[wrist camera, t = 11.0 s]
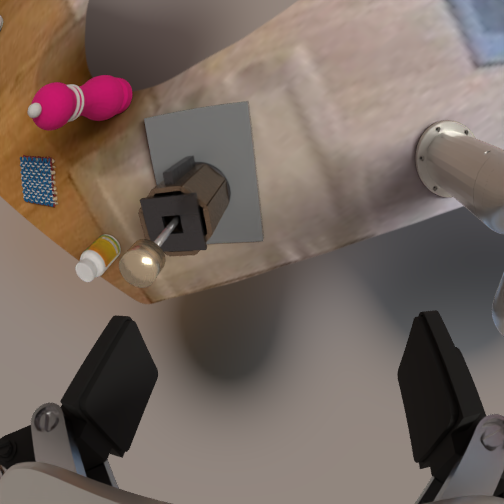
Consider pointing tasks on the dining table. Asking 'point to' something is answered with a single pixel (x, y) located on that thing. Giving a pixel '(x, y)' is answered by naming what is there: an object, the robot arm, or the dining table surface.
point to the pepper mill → (80, 101)
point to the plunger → (147, 256)
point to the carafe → (186, 206)
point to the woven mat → (38, 180)
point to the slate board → (214, 160)
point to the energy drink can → (1, 22)
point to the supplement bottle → (98, 258)
